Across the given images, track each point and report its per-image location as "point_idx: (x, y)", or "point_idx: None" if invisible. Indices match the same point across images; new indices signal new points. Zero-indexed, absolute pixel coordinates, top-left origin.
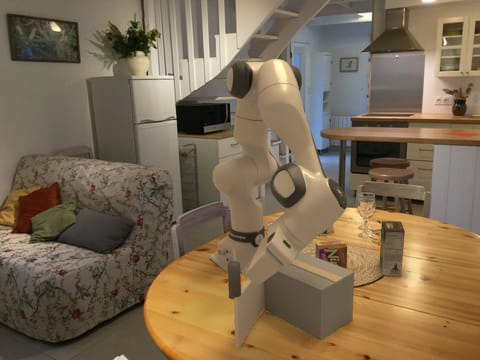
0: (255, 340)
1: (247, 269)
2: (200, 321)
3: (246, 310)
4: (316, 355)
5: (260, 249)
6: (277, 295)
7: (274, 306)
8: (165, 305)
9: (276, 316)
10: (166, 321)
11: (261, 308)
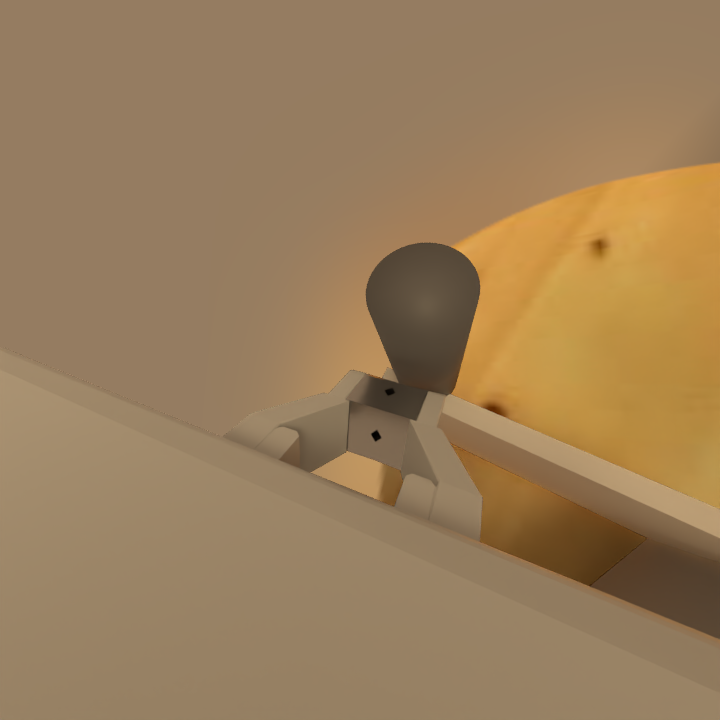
0: None
1: (31, 363)
2: (550, 317)
3: (468, 441)
4: None
5: (219, 654)
6: None
7: (630, 586)
8: (638, 215)
9: (599, 578)
10: (545, 236)
11: (618, 522)
